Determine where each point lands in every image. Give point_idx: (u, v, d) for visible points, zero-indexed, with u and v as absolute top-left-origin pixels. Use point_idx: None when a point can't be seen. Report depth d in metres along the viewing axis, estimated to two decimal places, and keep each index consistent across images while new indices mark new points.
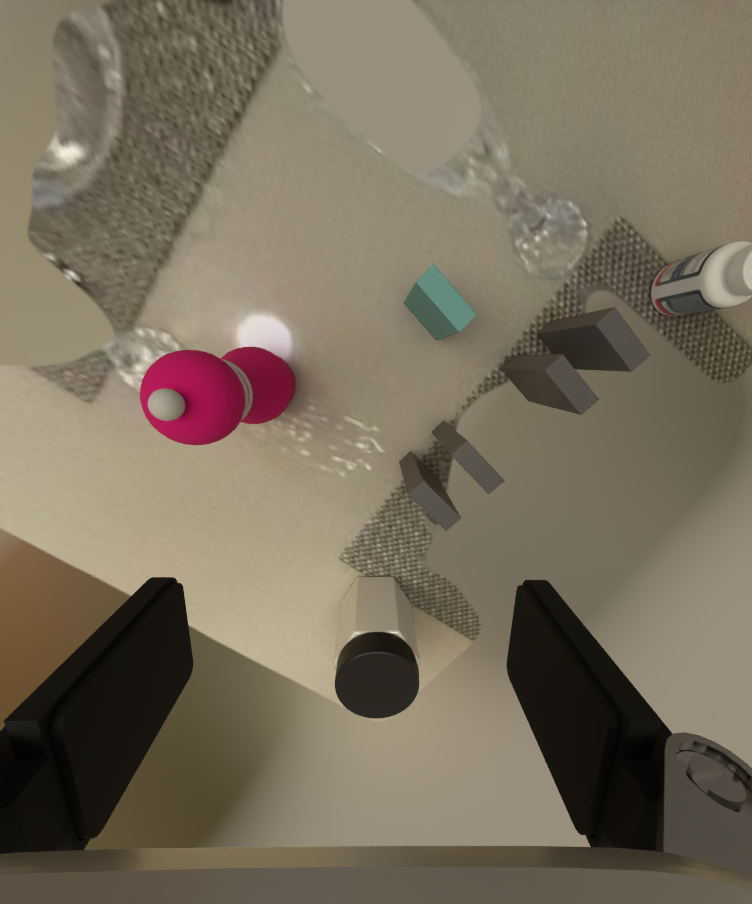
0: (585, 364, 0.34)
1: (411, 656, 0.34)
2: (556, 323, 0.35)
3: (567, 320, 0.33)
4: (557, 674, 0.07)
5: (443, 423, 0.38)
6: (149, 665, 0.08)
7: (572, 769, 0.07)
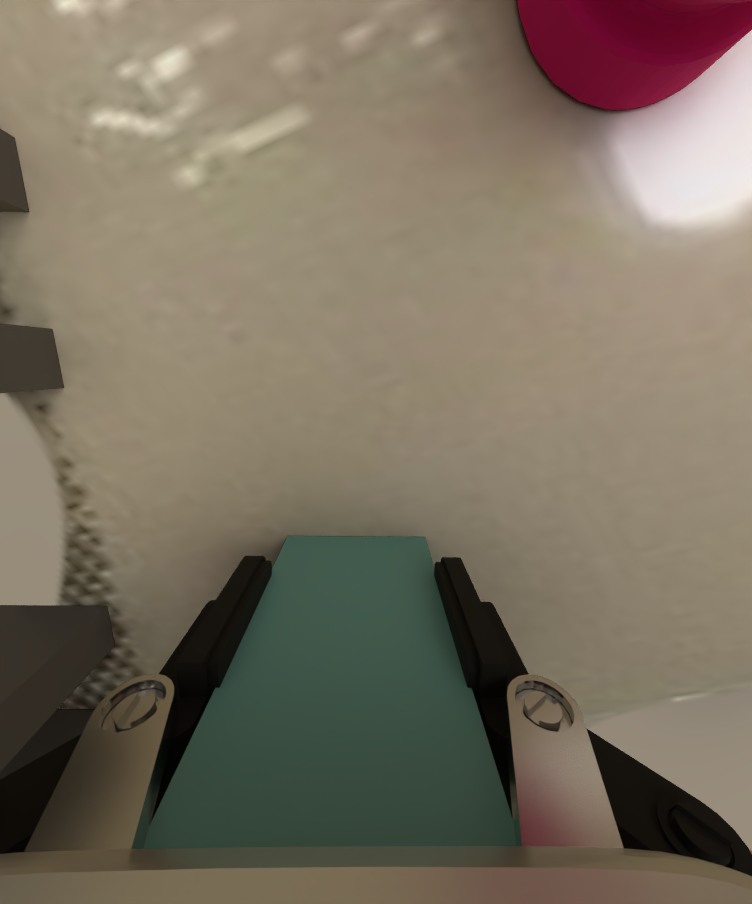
0: None
1: None
2: None
3: None
4: None
5: (37, 382, 0.10)
6: None
7: None
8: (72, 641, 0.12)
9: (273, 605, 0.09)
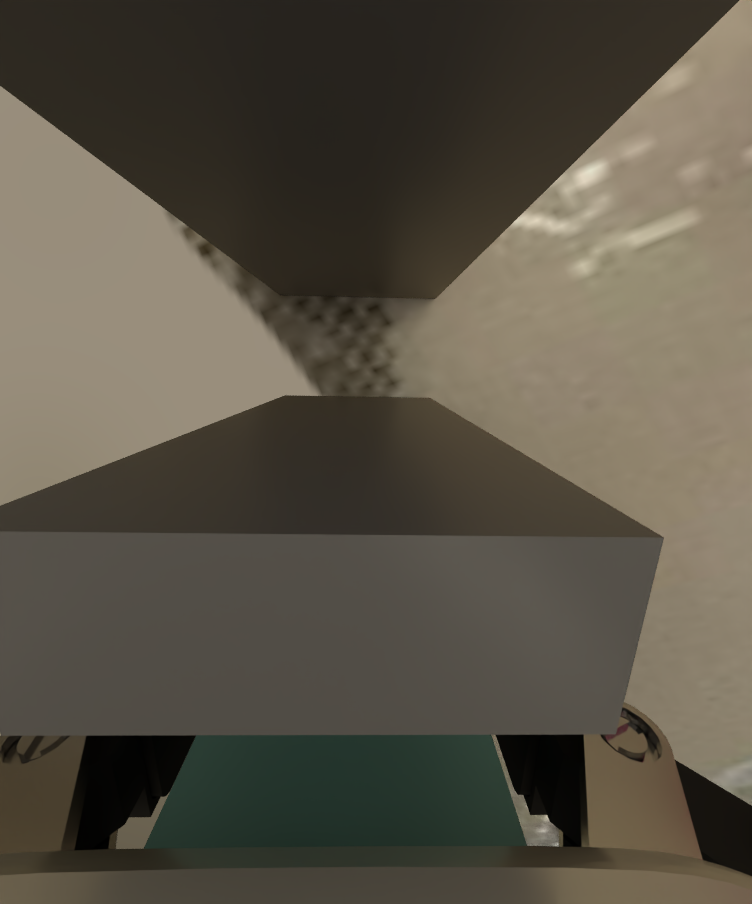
0: None
1: None
2: None
3: None
4: None
5: None
6: None
7: (512, 736, 0.07)
8: None
9: None
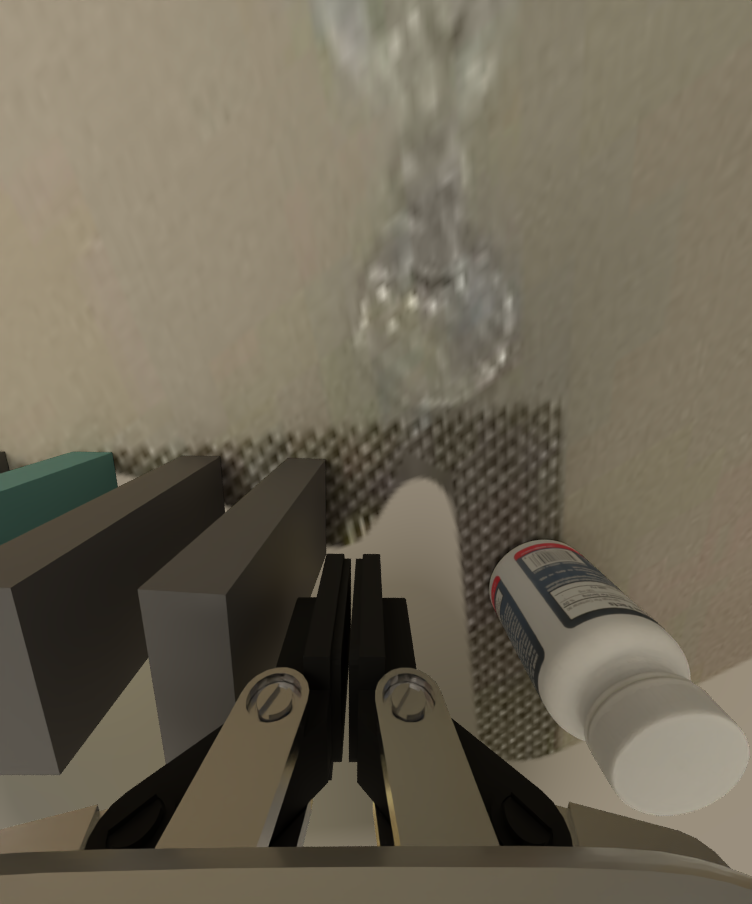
0: None
1: None
2: (299, 473, 0.14)
3: (289, 488, 0.13)
4: None
5: None
6: (347, 626, 0.09)
7: None
8: (164, 465, 0.15)
9: None
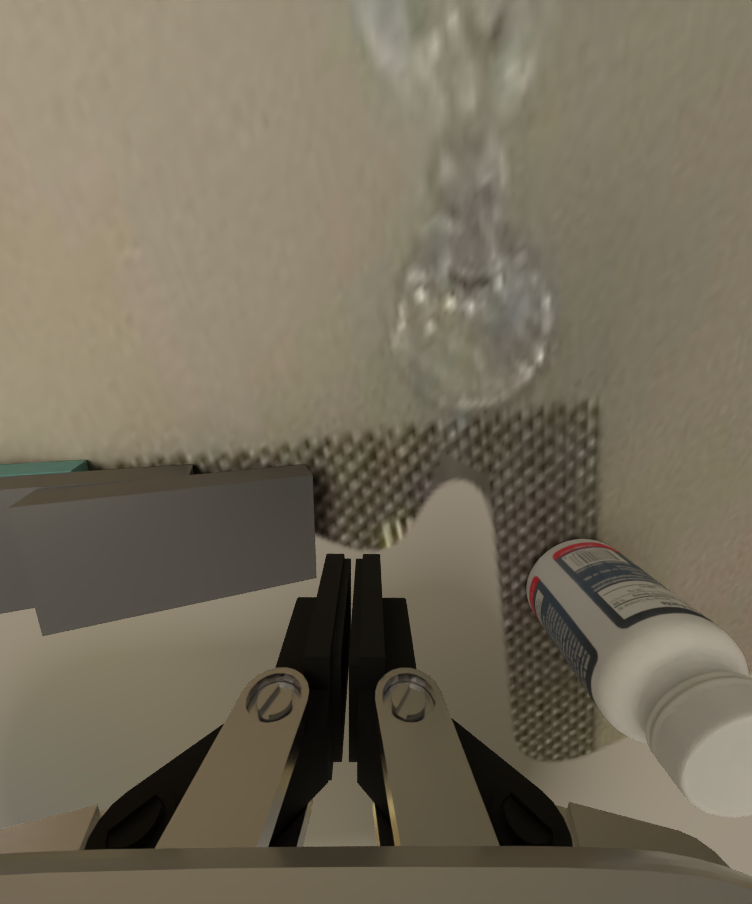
0: None
1: None
2: (257, 476, 0.15)
3: (209, 482, 0.14)
4: None
5: None
6: (347, 626, 0.09)
7: None
8: (152, 467, 0.16)
9: None
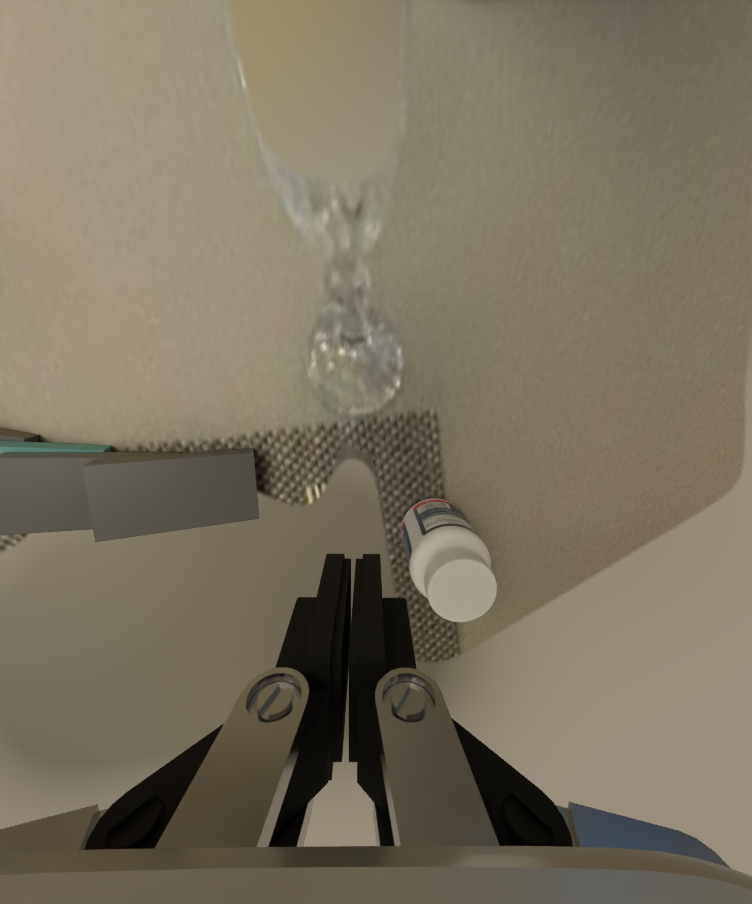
0: None
1: None
2: (219, 453, 0.25)
3: (190, 456, 0.24)
4: None
5: (10, 435, 0.24)
6: (347, 626, 0.09)
7: None
8: (155, 452, 0.26)
9: None
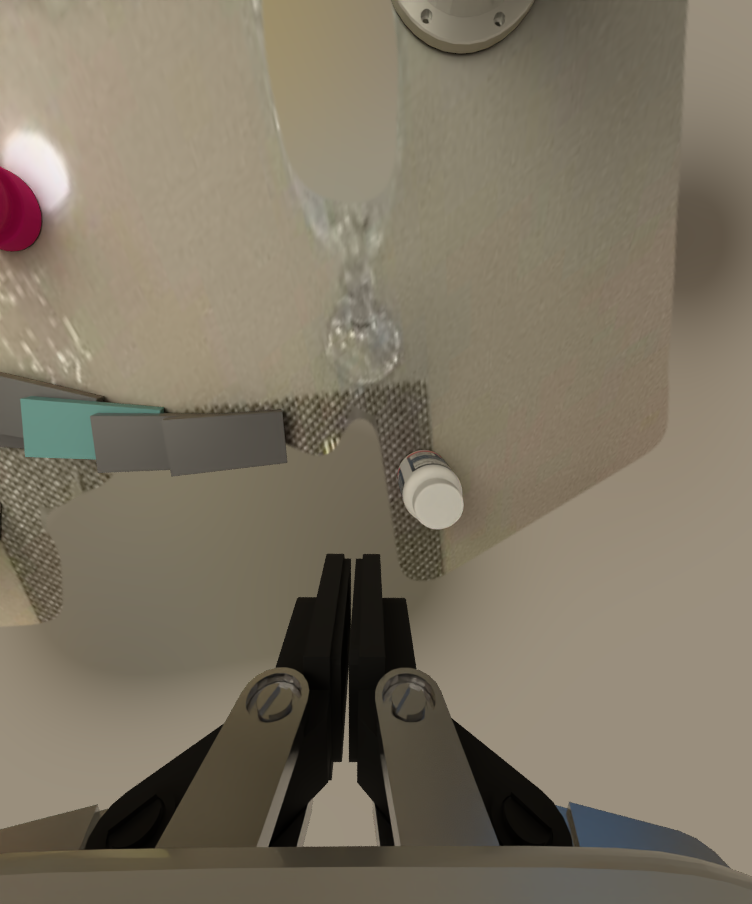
0: None
1: None
2: (257, 412, 0.33)
3: (236, 414, 0.32)
4: None
5: (86, 395, 0.32)
6: (347, 626, 0.09)
7: None
8: None
9: None
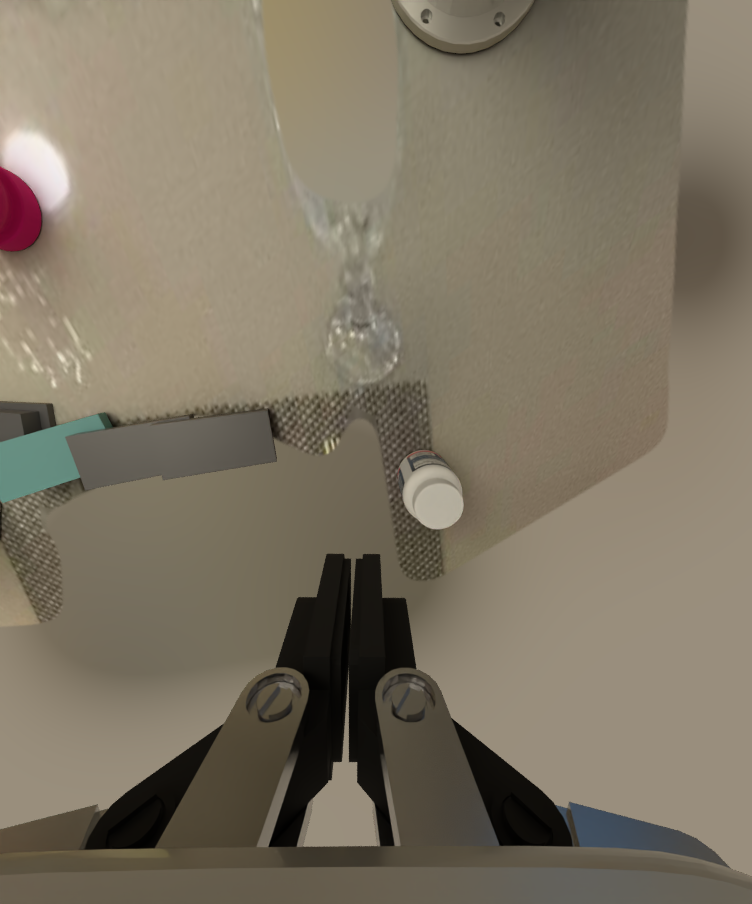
0: None
1: None
2: (243, 412, 0.33)
3: (222, 415, 0.32)
4: None
5: (12, 413, 0.32)
6: (347, 626, 0.09)
7: None
8: (174, 417, 0.34)
9: None
